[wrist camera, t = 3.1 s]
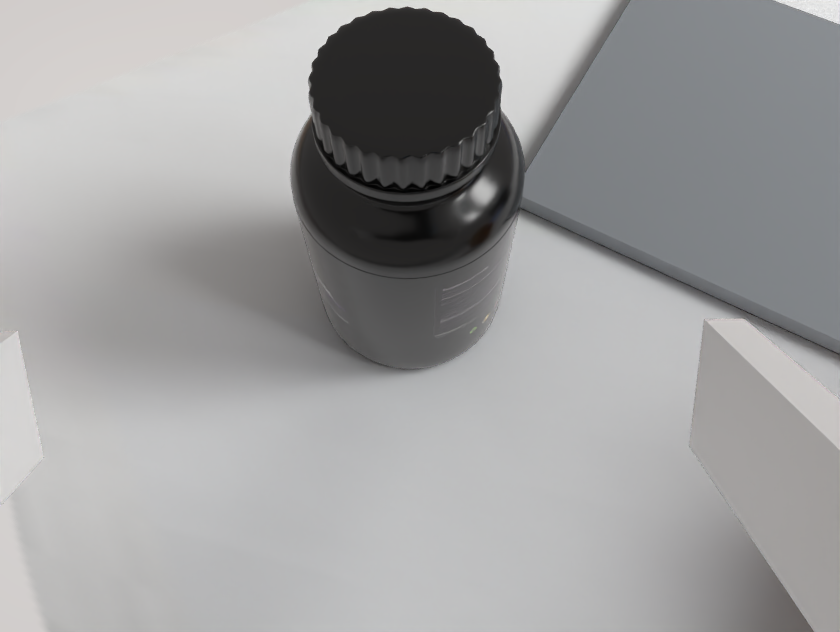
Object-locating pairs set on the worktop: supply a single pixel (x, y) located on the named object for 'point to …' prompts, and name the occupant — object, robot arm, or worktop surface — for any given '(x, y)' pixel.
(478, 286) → the supplement bottle
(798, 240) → the slate tile
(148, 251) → the worktop surface
